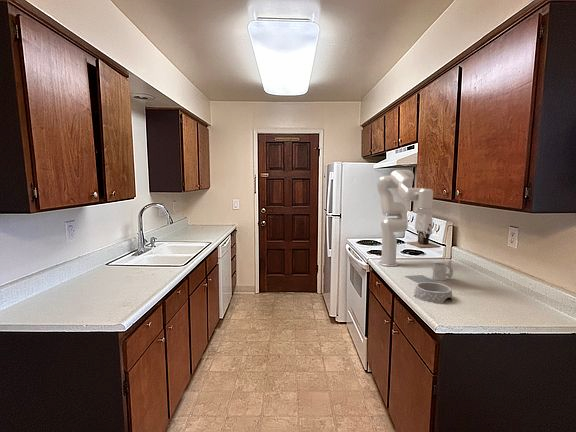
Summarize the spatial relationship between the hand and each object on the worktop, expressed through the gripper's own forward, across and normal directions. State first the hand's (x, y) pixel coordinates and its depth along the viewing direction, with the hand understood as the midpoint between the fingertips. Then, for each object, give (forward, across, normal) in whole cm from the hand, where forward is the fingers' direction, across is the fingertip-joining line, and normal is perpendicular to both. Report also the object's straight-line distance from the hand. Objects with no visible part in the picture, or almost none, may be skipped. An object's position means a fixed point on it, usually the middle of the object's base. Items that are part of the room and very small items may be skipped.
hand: (423, 243), depth 193 cm
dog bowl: (+22, +24, -10) cm, 34 cm away
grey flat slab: (+22, 0, 0) cm, 22 cm away
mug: (+22, +2, +12) cm, 26 cm away
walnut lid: (+1, 0, 0) cm, 1 cm away
